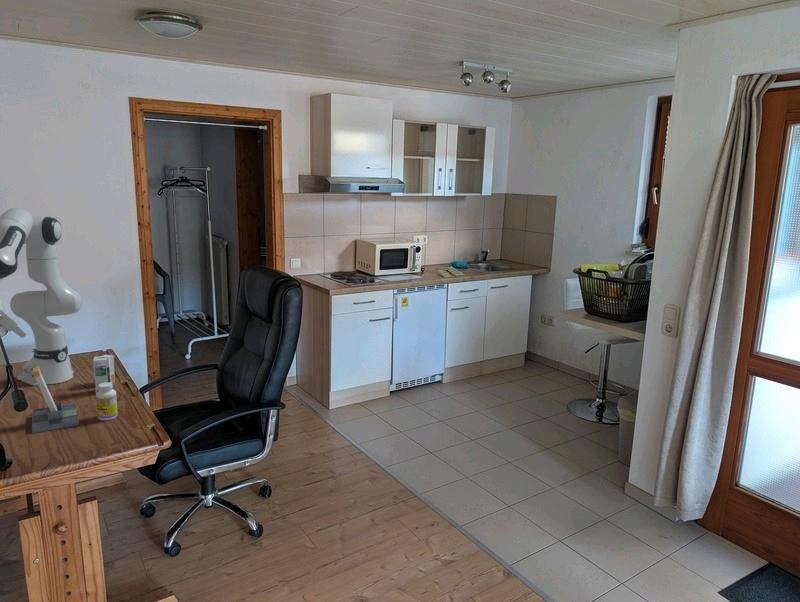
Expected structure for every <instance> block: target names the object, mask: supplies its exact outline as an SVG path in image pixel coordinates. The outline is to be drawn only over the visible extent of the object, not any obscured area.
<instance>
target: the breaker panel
mask: <svg viewBox="0 0 800 602" xmlns="http://www.w3.org/2000/svg"><path fill="white" fill-rule="evenodd" d="M54 403H55V405H56V407H57V411H53V412H51V411H50V409H49V407H48V406H47V407H48V409H45V410H38V411H33V410H32V415H31V417H32V418H31V432H32V434H36V433H41V432H48V431H54V430H60V429H66V428H72V427H77V426H80V421H79V414H78V406H77V404H76V405H71V406H64V407H61V405H62V404H61V403H62V401H56V402H55V401H54Z"/></svg>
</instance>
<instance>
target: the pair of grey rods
mask: <svg viewBox="0 0 800 602" xmlns="http://www.w3.org/2000/svg"><path fill="white" fill-rule="evenodd" d="M71 405H77V403H67V404H61V407H64V406H71ZM45 409H48V406H47V407H46V406H45V407H41V408H36V409H32V412H33V411H38V410H45Z"/></svg>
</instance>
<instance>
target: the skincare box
mask: <svg viewBox="0 0 800 602" xmlns="http://www.w3.org/2000/svg"><path fill="white" fill-rule="evenodd" d="M102 356H110V369H111V383H112V384H114V383H115V382H116V378H115V377H116V374H115V360H114V359H115V358H114V355H112V354H104V355H102Z"/></svg>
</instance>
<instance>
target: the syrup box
mask: <svg viewBox="0 0 800 602" xmlns="http://www.w3.org/2000/svg"><path fill="white" fill-rule="evenodd" d="M92 363H93V364H92V365H93V373H94V383H95V385H94V386H95V394H96V393H97V392H98V391H99V389H98V385H99V384H101V383H106V382H110V383H111V369H110V356H103V355H101V356H94V357H93V361H92Z"/></svg>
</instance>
